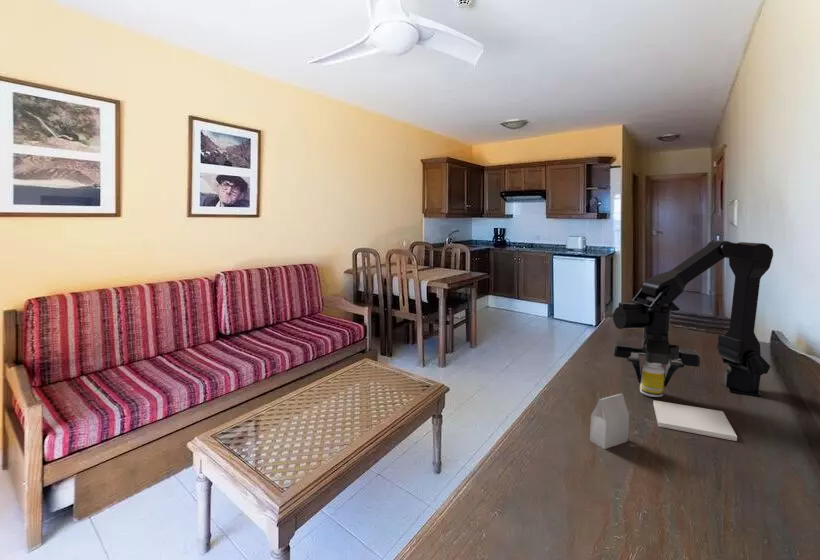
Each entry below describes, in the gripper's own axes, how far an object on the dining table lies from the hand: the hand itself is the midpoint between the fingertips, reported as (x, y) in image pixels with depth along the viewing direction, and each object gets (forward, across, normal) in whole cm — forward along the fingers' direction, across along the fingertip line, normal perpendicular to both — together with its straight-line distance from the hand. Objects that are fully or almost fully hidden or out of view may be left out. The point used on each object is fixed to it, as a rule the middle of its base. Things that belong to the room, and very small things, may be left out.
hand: (652, 384), depth 104 cm
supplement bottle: (+3, 0, 0) cm, 3 cm away
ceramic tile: (+3, +7, -12) cm, 14 cm away
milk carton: (+3, -10, -29) cm, 31 cm away
